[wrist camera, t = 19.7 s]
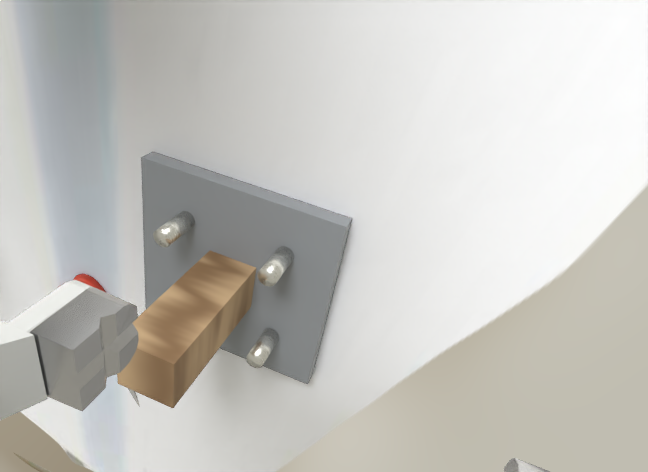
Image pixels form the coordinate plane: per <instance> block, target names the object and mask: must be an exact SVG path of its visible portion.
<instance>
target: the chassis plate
mask: <svg viewBox="0 0 648 472" xmlns="http://www.w3.org/2000/svg"><path fill="white" fill-rule="evenodd" d="M141 161H142V196H143V230H144V264H145V299H146V309H147V308H148V307H149V306H151V305H152V304H153V303H154V302H155V301H156V300H157V299H158V298H159V297H160V296H161V295H162V294H163V293H165V292H166V291H167V290H168V289H169V288H170V287H171V286H172V285H173V284H174V283H175V282H176V281H177V280H178V279H180V278H181V277H182V276H183V275H184V274H185V273H186V272H187V271H188V270H189V269H190V268H191V267H192V266H194V265H195V264H196V263H197V262H198V261H199V260H200V259H201V258H202V257H203V256H204V255H205V254H206V253H208V252H209V251H213V252H216V253H218V254H221V255H224V256H226V257H229V258H232V259H234V260H237V261H240V262H242V263H245V264H248V265H250V266H253V267H256V274H255V281H254V288H253V295H252V302H251V307H250V309H249V310H248V311H247V313H246V314H245V315H244V316H243V318H242V319H241V320H240V322H239V323H238V324H237V326H236V327H235V328H234V330H233V331H232V332H231V333H230V335H229V336H228V337H227V339H226V340H225V341H224V343H223V344H222V345H221V346H220V348H221V349H223V350H226V351H228V352H230V353H233V354H235V355H238V356H240V357H243V358H245V359H246V356H247V355H248V353H249V352H250V350H251V349H252V347H253V346H254V344H255V343H256V342H257V340H258V339H259V337H260V336H261V334H262V333H263V331H264V330H265V329H266V328H272V329H274V330H276V331H277V332H278V334H279V340H278V342H277V343H276V345H275V346H274V348H273V350H272V351H271V353H270V354H269V356H268V358H267V359H266V361H265V362H264V364H263V366H265V367H267V368H269V369H272V370H274V371H277V372H279V373H282V374H284V375H286V376H289V377H291V378H294V379H296V380H299V381H301V382H303V383H306V384H308V382H309V380H310V378H311V376H312V374H313V371H314V367H315V363H316V359H317V355H318V351H319V347H320V343H321V339H322V335H323V331H324V327H325V324H326V320H327V316H328V312H329V308H330V304H331V300H332V296H333V292H334V288H335V284H336V280H337V276H338V272H339V268H340V264H341V260H342V256H343V252H344V248H345V244H346V240H347V236H348V232H349V228H350V224H351V220H352V218H349V217H346V216H343V215H340V214H337V213H334V212H331V211H328V210H325V209H322V208H319V207H316V206H314V205H311V204H308V203H305V202H302V201H299V200H296V199H293V198H290V197H287V196H284V195H281V194H278V193H275V192H272V191H269V190H266V189H263V188H260V187H257V186H254V185H251V184H248V183H245V182H242V181H239V180H236V179H233V178H230V177H227V176H224V175H221V174H218V173H215V172H212V171H209V170H206V169H203V168H200V167H197V166H194V165H191V164H188V163H185V162H182V161H179V160H176V159H173V158H170V157H167V156H164V155H161V154H158V153H155V152H151V153H149V154H147V155H145V156H143V157H141ZM182 211H187V212H189V213H191V214H192V215H193V217H194V219H195V225H194V226H193V227H192V228H191V229H190V230H188V231H187V232H186V233H185V234H183V235H182V236H181V237H180V238H178V239H177V240H176V241H175V242H173V243H172V244H171V245H170V246H168V247H161V246H160V245H158V244H157V243H156V241H155V240H154V237H153V233H154V231H156V230H157V229H158V228H160V227H161V226H162V225H164V224H165V223H166V222H168V221H169V220H171V219H172V218H173V217H175V216H176V215H177V214H179V213H180V212H182ZM281 246H285V247H288V248H290V249H291V250H292V252H293V253H294V260H293V261H292V263H291V264H290V265H289V267H288V268H287V269H286V271H285V272H284V273H283V275H282V276H281V277H280V279H279V280H278V281H277V283H276V284H275V285H274V286H271V287H269V286H265V285H263V284H262V283H261V282H260V281H259V279H258V272H259V270H260V269H261V268H262V267H263V265H264V264H265V263H266V262H267V261H268V259H269V258H270V257H271V256H272V255H273V254H274V252H275V251H276V250H277V249H278V248H279V247H281Z"/></svg>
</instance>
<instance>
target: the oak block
mask: <svg viewBox="0 0 648 472" xmlns="http://www.w3.org/2000/svg"><path fill="white" fill-rule="evenodd" d="M255 274H256V267H253V266H250V265H248V264H245V263H242V262H240V261H237V260H234V259H232V258H229V257H226V256H224V255H221V254H218V253H216V252H213V251H209V252H208V253H206V254H205V255H204V256H203V257H202V258H201V259H200V260H199V261H198V262H197V263H196V264H195V265H194V266H192V267H191V268H190V269H189V270H188V271H187V272H186V273H185V274H184V275H183V276H182V277H181V278H180V279H178V280H177V281H176V282H175V283H174V284H173V285H172V286H171V287H170V288H169V289H168V290H167V291H166V292H165V293H163V294H162V295H161V296H160V297H159V298H158V299H157V300H156V301H155V302H154V303H153V304H152V305H151V306H149V307H148V308H147V309H146V310H145V311H144V312H143V313H142V314H141V315H140V316H139V317H138V318H137V319H136V320H135V321H134V322H133V325H134V327H135V328H136V330H137V331H138V337H139V341H138V345H137V349H136V352H135V354H134V355H133V357H132V359H131V361H130V362H129V364H128V365H127V366H126V367H125V368H124V369H123V370H122V371H121V372H120V373H118V374H117V377H118V384H120V385H122V386H125V387H127V388H129V389H131V390H134V391H136V392H138V393H140V394H142V395H145V396H147V397H149V398H151V399H153V400H156V401H158V402H160V403H162V404H164V405H167V406H169V407H171V408H174V406H175V405H176V404H177V402H178V401H179V400H180V398H181V397H182V396H183V395H184V393H185V392H186V391H187V389H188V388H189V387H190V385H191V384H192V383H193V382H194V380H195V379H196V378H197V376H198V375H199V374H200V372H201V371H202V370H203V369H204V367H205V366H206V365H207V363H208V362H209V361H210V359H211V358H212V357H213V356H214V354H215V353H216V352H217V350H218V349H219V348H220V346H221V345H222V344H223V343H224V341H225V340H226V339H227V337H228V336H229V335H230V333H231V332H232V331H233V330H234V328H235V327H236V326H237V324H238V323H239V322H240V320H241V319H242V318H243V316H244V315H245V314H246V313H247V311H248V310H249V309H250V307H251V302H252V295H253V288H254V281H255Z"/></svg>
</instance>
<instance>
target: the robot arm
mask: <svg viewBox="0 0 648 472" xmlns="http://www.w3.org/2000/svg"><path fill="white" fill-rule="evenodd" d="M137 318H138V315H137V306H135V305H133V304H131V303H129V302H126V301H124V300H122V299H120V298H117V297H115V296H113V295H110V294H108V293H106V292H104V291H101V290H99V289H97V288H94V287H92V286H89V285H87V284H85V283H82V282H80V281H78V280H72V281H68V282H66V283H64V284H63V285H61V286H60V287H58V288H57V289H55V290H54V291H53V292H51V293H50V294H48V295H47V296H45V297H44V298H42V299H41V300H40V301H38V302H37V303H35V304H34V305H32V306H31V307H29V308H28V309H27V310H25V311H24V312H22V313H21V314H19V315H18V316H16V317H15V318H14V319H12V320H11V321H9V322H8V323H6V322H4V321H0V420H2V419H4V418H7V417H9V416H11V415H13V414H15V413H18V412H20V411H22V410H24V409H26V408H29V407H31V406H33V405H35V404H37V403H40V402H42V401H44V400H46V399H47V396H48V397H50V398H52V399H55V400H57V401H59V402H62V403H64V404H66V405H69V406H71V407H73V408H76V409H78V410H80V411H83V410H84V409H85V408H86V407H87V406H88V405H89V404H90V403H91V402H92V401H93V400H94V399H95V398H96V397H97V396H98V395H99V394H100V393H101V392H102V391H103V390H104V389H105V388H106V379H107V377H109V376H112V375H115V374H118V373H120V372H121V371H122V370H123V369H124V368H125V367H126V366H127V365H128V364H129V362H130V361H131V359H132V357H133V355H134V354H135V352H136V349H137V345H138V341H139V337H138V331H137V330H136V328H135V327H134V325H133V322H134V321H135V320H136V319H137ZM504 472H550V471H547V470H545V469H542V468H540V467H537V466H534V465H532V464H529V463H527V462H524V461H522V460H519V459H516V458H513V459H511V460H510V461H509V462H508V463H507V465H506V466H505V468H504Z"/></svg>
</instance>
